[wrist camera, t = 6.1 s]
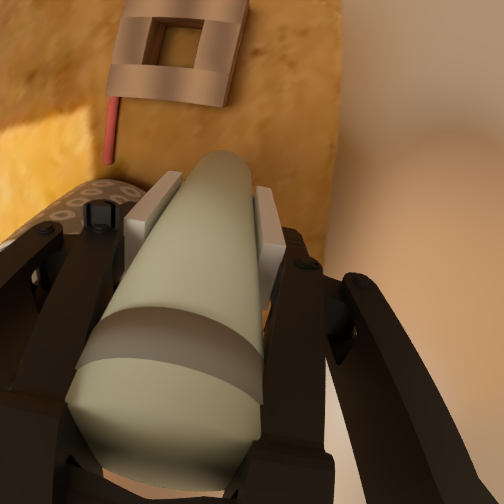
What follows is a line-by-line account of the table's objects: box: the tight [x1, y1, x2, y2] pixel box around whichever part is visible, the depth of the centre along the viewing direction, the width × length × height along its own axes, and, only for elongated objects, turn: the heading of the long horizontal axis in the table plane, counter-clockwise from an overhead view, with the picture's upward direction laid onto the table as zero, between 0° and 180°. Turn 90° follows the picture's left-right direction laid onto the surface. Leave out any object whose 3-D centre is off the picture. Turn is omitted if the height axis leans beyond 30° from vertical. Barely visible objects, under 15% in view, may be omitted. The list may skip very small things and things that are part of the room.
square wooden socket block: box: [106, 0, 249, 108], centre depth 25 cm, size 12×12×5 cm
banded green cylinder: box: [65, 150, 265, 491], centre depth 12 cm, size 4×4×18 cm
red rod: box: [103, 96, 119, 165], centre depth 30 cm, size 11×1×1 cm, turn 168°
